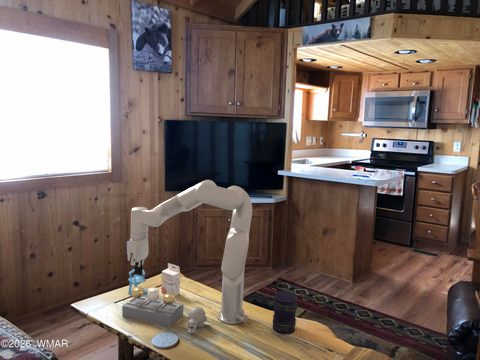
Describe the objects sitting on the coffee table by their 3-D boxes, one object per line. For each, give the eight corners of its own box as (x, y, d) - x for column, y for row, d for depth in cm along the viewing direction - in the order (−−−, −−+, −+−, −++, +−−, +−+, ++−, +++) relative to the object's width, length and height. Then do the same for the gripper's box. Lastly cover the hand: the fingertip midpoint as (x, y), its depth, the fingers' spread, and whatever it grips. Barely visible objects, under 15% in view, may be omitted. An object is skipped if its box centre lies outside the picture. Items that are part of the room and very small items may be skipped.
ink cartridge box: (160, 292, 191) (161, 265, 189) (167, 289, 195) (168, 262, 193) (173, 297, 187) (173, 269, 185) (180, 293, 191) (180, 266, 189)
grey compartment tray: (183, 314, 171) (183, 302, 170) (170, 327, 159) (170, 315, 158) (137, 304, 178) (137, 293, 177) (122, 316, 167) (122, 304, 166)
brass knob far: (145, 293, 171) (145, 287, 171) (139, 298, 167) (139, 292, 166) (136, 292, 173) (136, 285, 173) (129, 296, 168) (129, 290, 168)
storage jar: (267, 327, 163) (269, 294, 161) (283, 320, 169) (285, 289, 167) (284, 337, 155) (286, 303, 153) (300, 330, 161) (302, 297, 159)
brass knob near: (176, 300, 167) (177, 294, 166) (171, 305, 162) (171, 298, 161) (166, 298, 168) (167, 292, 168) (161, 303, 163) (161, 296, 163)
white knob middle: (161, 297, 169) (161, 288, 168) (155, 301, 164) (155, 293, 164) (151, 295, 171) (151, 286, 170) (145, 299, 166) (145, 291, 165)
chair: (125, 292, 191) (125, 269, 189) (140, 287, 196) (140, 265, 194) (132, 297, 185) (132, 274, 183) (148, 292, 190) (148, 270, 189)
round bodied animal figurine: (182, 337, 157) (178, 323, 153) (195, 315, 167) (191, 301, 162) (198, 341, 154) (194, 327, 150) (209, 318, 164) (206, 304, 160)
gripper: (141, 229, 174) (140, 267, 177) (121, 238, 160) (121, 278, 163) (155, 232, 172) (154, 270, 175) (136, 240, 158) (135, 282, 161)
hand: (138, 274), depth 169 cm, fingers closed
